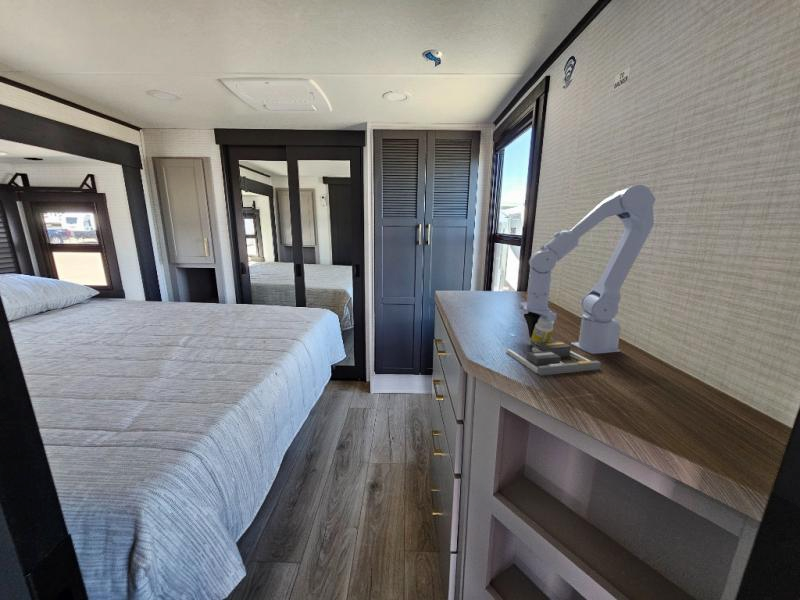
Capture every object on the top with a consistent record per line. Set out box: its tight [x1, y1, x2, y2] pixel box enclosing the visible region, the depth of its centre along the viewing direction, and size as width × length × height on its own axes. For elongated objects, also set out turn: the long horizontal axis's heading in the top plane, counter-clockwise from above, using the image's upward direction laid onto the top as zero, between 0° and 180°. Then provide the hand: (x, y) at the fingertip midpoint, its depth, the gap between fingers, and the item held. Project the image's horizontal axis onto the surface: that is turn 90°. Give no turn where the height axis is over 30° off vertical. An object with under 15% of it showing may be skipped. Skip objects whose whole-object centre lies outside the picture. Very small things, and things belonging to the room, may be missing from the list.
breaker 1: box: [526, 351, 562, 367], centre depth 76 cm, size 6×4×3 cm, turn 102°
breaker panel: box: [506, 346, 601, 376], centre depth 79 cm, size 16×14×2 cm
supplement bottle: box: [529, 316, 555, 349], centre depth 87 cm, size 5×5×8 cm
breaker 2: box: [538, 340, 572, 358], centre depth 83 cm, size 6×4×3 cm, turn 102°
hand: (533, 337), depth 92 cm, fingers closed
